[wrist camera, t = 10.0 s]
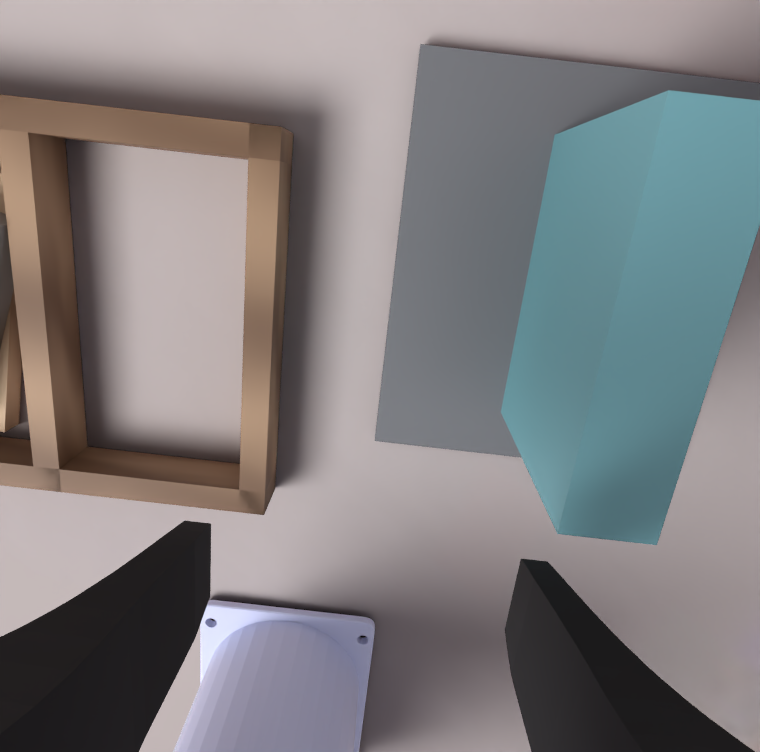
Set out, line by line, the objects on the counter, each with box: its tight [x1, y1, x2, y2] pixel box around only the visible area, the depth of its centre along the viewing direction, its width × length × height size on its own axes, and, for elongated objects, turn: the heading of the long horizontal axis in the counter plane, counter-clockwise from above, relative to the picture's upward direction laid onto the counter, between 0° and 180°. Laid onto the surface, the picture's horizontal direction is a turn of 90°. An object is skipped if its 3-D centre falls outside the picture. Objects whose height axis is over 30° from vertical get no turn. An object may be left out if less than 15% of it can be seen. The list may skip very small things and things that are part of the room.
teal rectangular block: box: [501, 90, 760, 545], centre depth 16 cm, size 10×2×8 cm, turn 174°
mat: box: [375, 44, 760, 458], centre depth 20 cm, size 14×12×1 cm
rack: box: [0, 95, 293, 515], centre depth 20 cm, size 14×16×2 cm
